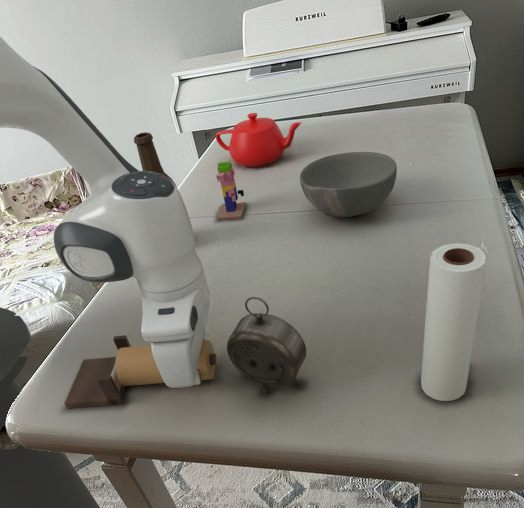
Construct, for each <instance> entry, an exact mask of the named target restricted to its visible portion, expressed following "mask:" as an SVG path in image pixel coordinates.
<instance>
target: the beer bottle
mask: <svg viewBox="0 0 524 508" xmlns="http://www.w3.org/2000/svg"><path fill="white" fill-rule="evenodd" d="M153 139H154V137H153V135H152V133H150V132H148V131H147V132H140V133H138V134H137V133H136V134H135V136H134V137H133V144H135V145H136V149H137V152H138V157H139V161H140V164H141V169H142V170H141V171H151V172H156V173H159V174H162V175H164V176H166V177H168V178H169V179H170V180H171V181H172V182H173V183H174V185H175V186H176V187H177V184H176V183H175V182H174V180H173V178H171V176H169V175H168V174H167V173H166V172H165V170H164V168H163V166H162V164H161V161H160V158H159V156H158V152H157V150H156V147H155V144H154V141H153Z"/></svg>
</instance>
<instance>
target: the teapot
mask: <svg viewBox="0 0 524 508" xmlns="http://www.w3.org/2000/svg"><path fill="white" fill-rule="evenodd" d="M246 116H247V119H245V120H242V121H240V122H238V123H237V124H235V125H234V126H233V128H232V129H222V130H219V131H218V132H216V133H215V140H216V142H217V144H218V145H219V146H220V147H221V148H222V149H223V150H224V151H228V152H229V155H230V157H231V159H232V160H233V161H234V162H235V163H236V164H238V165H240V166H243V167H246V168H261V167H266V166H269V165H271V164H273V163H275V162H276V161H277V160H278V159H279V158H280V157H282V156H283V153H284V151H285V150H286V149H288V148H291V146H292V143H293V141H294V137H295V133H296V132H295V131H296V130H297V129H298V128H299V127H300V125H301V124H303V122H301V121H299V122H298V121H297V122H294V123H292V124H290V127H289V128H288V129H289V130H288V133H287V135H286V137H284V134H283V133H282V131H281V129H280V128H279V125H278V124H277V123H276V121H275V120H274V119H272V118H271V117H258V113H257V112H251V113H248V114H247V115H246ZM226 134H227V135H228V134H231V137H230V141H229V145H227V144H226V143H225V142H224V141H223V139H222V137H221V135H226Z"/></svg>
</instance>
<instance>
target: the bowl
mask: <svg viewBox="0 0 524 508" xmlns="http://www.w3.org/2000/svg"><path fill="white" fill-rule="evenodd" d="M397 167H398V166H397V162H396V161H395V160H394V158H393V157H391V156H389V155H387V154H385V153H381V152H380V153H379V152H374V151H353V152H351V151H350V152H343V153H335V154H330V155H327V156H324V157H321V158H318V159H316V160H314V161H312V162H310V163H308V164H307V165H306V166H304V167H303V169H302V170H301V172H300V174H299V184H300V187H301V190H302V192H303V194H304V196H305V198H306V199H307V200H308V202H309V203H310V204H311V205H312V206H313V207H314V208H316V209H317V210H319V211H320V212H322V213H323V214H326V215H328V216H332V217H342V218H346V217H347V218H348V217H355V216H360V215H364V214H367V213H370V212H372V211H374V210H376V209H377V208H379V207H380V206H382V204H383V203H384V202H385V201H386V200H387V198H389V196H390V195H391V193H392V191H393V190H394V187H395V184H396V179H397V172H398V171H397V170H398V169H397Z"/></svg>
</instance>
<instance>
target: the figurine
mask: <svg viewBox="0 0 524 508" xmlns="http://www.w3.org/2000/svg"><path fill="white" fill-rule="evenodd" d="M235 175H236V172H235V169H234V168H233V164H232V161H231V160H228V161H220V162H217V171H216V172H215V176H216V181H217V182H220V186H221V192H222V195H223V200H224V203H222V205H221V206H220V210H219V212H218V215H217V217H216V220H217V221H230V220H242V218H243V215H244V211H245V209H246V206H247V203H246V202H243V201H242V202H237V201H238V199H239V195H240V197H244V196H245V192H244V189H238V190H237V185H236V180H235Z"/></svg>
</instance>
